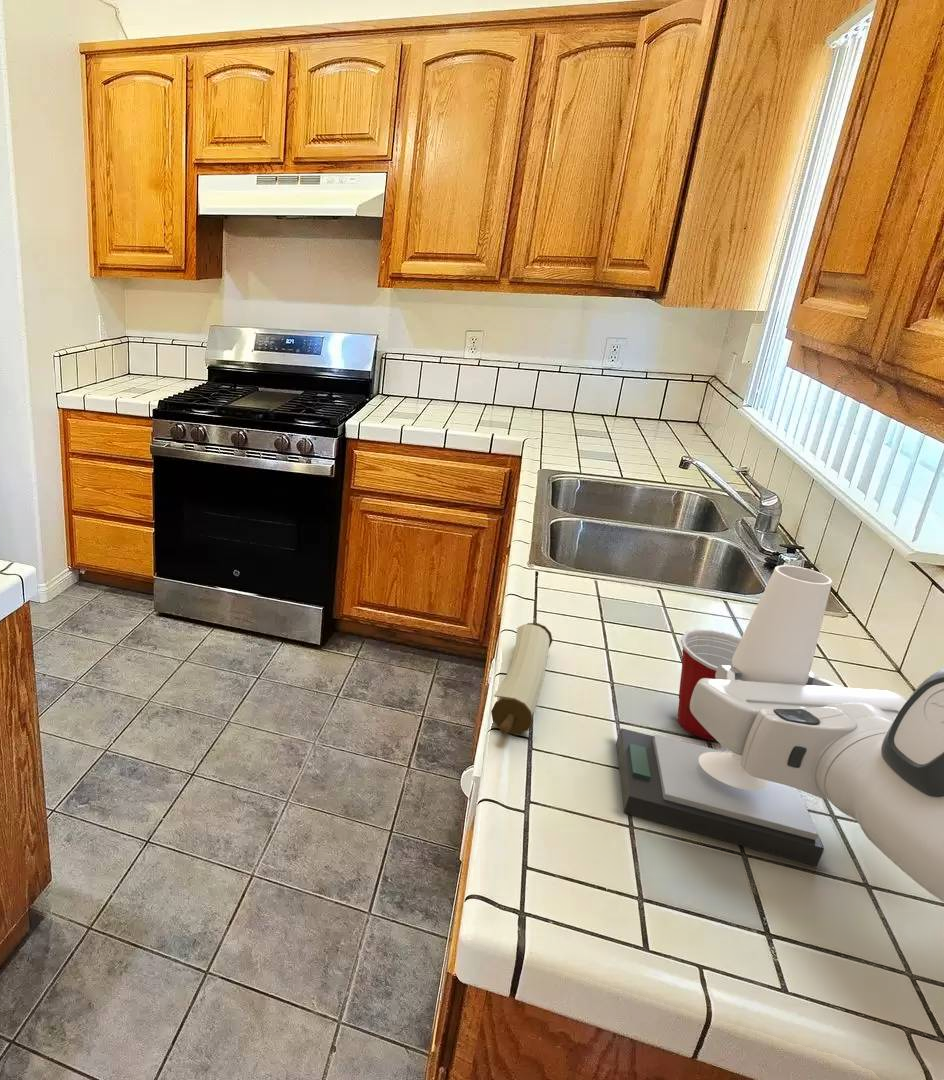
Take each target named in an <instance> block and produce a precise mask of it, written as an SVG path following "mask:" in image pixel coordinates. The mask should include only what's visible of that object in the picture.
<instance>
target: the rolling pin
mask: <svg viewBox="0 0 944 1080" xmlns="http://www.w3.org/2000/svg"><path fill="white" fill-rule="evenodd" d="M552 643H553V636H552V632H551V631H550V630H549V629H548V627H546V626H545V625H543V624H541V623H538V622H528V623H526V624H522V625H519V626H517V628H516V636H515V645H514V651H513V655H512V659H511V663H510V666H509V668H508V671H507V673H506V676H505V678H504V680H503V682H502V683H501V684H500V685H499V687H498V689H497V690H496V692H495V693H494V694H493V697H494V698H498V700H497V701H495V703H494V705H493V706H492V709H491V711H490V712H491V718H492V721H493V723H494V724H495V725H496V727H497V728H498V729H499V732H500V733H501V734H503V735H506V734H509V735H511V734H512V735H521V734H523V733H525V732H528V731H529V729H530V727H531V725H532V723H533V722H534V719H533V716H534V712H535V709H536V706H537V703H538V700H539V697H540V693H541V688H542V685H543V681H544V677H545V672H546V668H547V667H546V666H547V661H548V656H549V650H550V647H551V646H552Z"/></svg>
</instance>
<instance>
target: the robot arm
mask: <svg viewBox="0 0 944 1080" xmlns="http://www.w3.org/2000/svg"><path fill="white" fill-rule="evenodd" d="M741 675H742V673H741V672H740V671H739V670H737V669H736V667H734V666H725V665H719V666H718V668H717V671H716V674H715V678H716V679H710V678H702V679H700V680H699V681H698V683H697V684H696V686H695V688H694V691H693V694H692V697H691V701H690V711H691V713H692V714H693V716H694V717H695V718H696V719H697V720H698V722H699V723H700V724H701V725H702V726H703V727H704V728H705V729H706V730H707V731H708V732H709V733H710V734H711V735H712V736H713V737H714V738H715V739H716V740H715V741H717V742H718V744H720V745H721V746H722V747H724V748H725V749H727V750H728V751H730V752H731V753H732V752H733V753H736V754H738V755H741V756H742V759H741V766H742V768H743V769H744V770H745V771H746V772H747V773H748V774H750V775H751V776H754V777H756V778H760V779H764V780H768V781H772V782H776V783H780V784H783V785H787V786H790V787H793V788H796V789H798V790H799V791H802V792H805V793H807V794H810V795H812V796H814V797H817V798H819V799H824V800H826V799H827V800H828V801H829V802H830V803H831V804H832V805H833V806H834V807H835V808H836V809H837V810H838V811H840V812H841V813H843V814H845V815H846V816H848V817H850V818H852V819H854V820H855V821H856V822H857V824H858V825H859V826H860V828H861V830H862V832H863V834H864V835H865V836H866V838H867V839H868V840H869V841H870V842H871V844H873V846H875V847H876V848H877V849H878V850H879V851H880V852H881V853H882V854H883V855H884V856H886V857H887V858H888V859H889V860H890V862H892V863H893V864H894V865H895V866H896V867H898V868H899V869H900V870H901V871H902V872H903V873H904V874H905V875H907V876H908V877H909V878H910V879H912V880H913V881H914V882H915V883H916V884H918V885H919V886H920V887H921V888H923V889H924V890H925V891H927V892H928V893H929V894H931V895H932V896H933V897H935V898H937V899H938V900H940V901H941V902H943V903H944V667H943V668H941V669H939V670H937V671H936V672H934V673H933V674H931V675H930V676H929V677H927V678H926V679H925V680H923V682H921V683H920V684H919V685H918V686H917V687H916V688H915V690H914V691H913V692H912V694H910V696H909V697H908V698H906V697H904V696H903V695H900V694H898V693H896V692H892V691H889V690H884V689H883V690H881V689H869V688H868V689H867V688H853V687H844V686H842V685H840V684H836V683H834V682H832V681H829V680H826V679H823V678H820V677H819V676H818V675H816V674H815V673H814V672H812V671H811V670H810V674H809V678H808V682H807V683H806V685H796V684H782V683H767V682H752V681H742V680H739V679H740V678H741Z"/></svg>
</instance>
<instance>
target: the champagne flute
mask: <svg viewBox="0 0 944 1080" xmlns="http://www.w3.org/2000/svg"><path fill="white" fill-rule="evenodd" d="M832 584H833V580H832V579H831V577H829V576H828V575H826V574H823V573H822V572H819V571H816V570H814V569H810V568H807V567H801V566H797V565H790V564H789V565H788V564H786V565H785V564H781V565H777V566H775V567H774V569H773V571H772V573H771V575H770V578H769V579H768V582H767V583H766V587H765V588H764V590H763V592H762V594H761V596H760V599H759V601H758V603H757V605H756V607H755V609H754V611H753V613H752V616H751V617H750V620H749V622H748V623H747V626H746V628H745V630H744V633H743V634H742V637H740V638H741V641H740V643H739V645H738V647H737V649H736V651H735V653H734V655H733V658H732V665H733V666H734V667H736V669H737V670H739V671H740V672H741V673H742V675H741V678H740V679H739V680H742V681H752V682H767V683H782V684H796V685H806V683H807V682H808V678H809V674H810V671H811V670H812V665H813V661H814V657H815V655H816V649H817V645H818V641H819V637H820V632H821V629H822V625H823V620H824V616H825V612H826V609H827V604H828V600H829V596H830V592H831V588H832ZM741 759H742V756H741V755H738V754H736V753H733V752H732V751H731V752H728V753H723V752H707V753H703V754H701V755H700V756H699V764H700V766H701V767H702V768H703V769H704V770H705V771H706V772H707V773H708V774H709V775H711V776H712V777H714V778H715V779H717V780H719V781H721V782H723V783H725V784H727V785H730V786H733V787H736V788H739V789H744V790H762V789H764V788H766V787H767V785H768V780H764V779H760V778H756V777H754V776H751V775H750V774H748V773H747V772H746V771H745V770H744V769H743V768H742V766H741Z"/></svg>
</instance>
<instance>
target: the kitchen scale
mask: <svg viewBox="0 0 944 1080" xmlns="http://www.w3.org/2000/svg"><path fill="white" fill-rule="evenodd" d="M707 752H723V753H729V752H727V751H724V750H720V749H716V748H711V747H707V746H704V745H699V744H695V743H691V742H687V741H682V740H678V739H675V738H671V737H667V736H662V735H657V734H653V735H650V734H647V733H642V732H638V731H634V730H631V729H627V728H622V727H621V728H620V729H619V733H618V736H617V740H616V753H617V762H618V771H619V780H620V788H621V789H620V790H621V799H622V807H623V813H624V814H627V815H631V816H635V817H637V818H641V819H645V820H649V821H652V822H656V823H659V824H663V825H666V826H670V827H673V828H677V829H681V830H684V831H688V832H691V833H695V834H699V835H702V836H706V837H709V838H713V839H717V840H719V841H723V842H727V843H730V844H733V845H734V844H735V845H738V846H742V847H745V848H749V849H752V850H756V851H759V852H763V853H766V854H770V855H774V856H776V857H777V856H778V857H781V858H784V859H788V860H792V861H795V862H799V863H803V864H806V865H810V866H812V867H818V865H819V862H820V860H821V858H822V856H823V853H824V850H825V847H824V845H823V842H822V840H821V838H820V836H819V833H818V830H817V828H816V826H815V824H814V821H813V819H812V817H811V815H810V812H809V810H808V808H807V806H806V803H805V801H804V799H803V797H802V794H801V792H800V790H799V789H796V788H793V787H790V786H787V785H783V784H780V783H776V782H772V781H768V785H767V787H766V788H764V789H762V790H744V789H739V788H736V787H733V786H730V785H727V784H725V783H723V782H721V781H719V780H717V779H715V778H714V777H712V776H711V775H709V774H708V773H707V772H706V771H705V770H704V769H703V768H702V767H701V766H700V764H699V756H700V755H701V754H703V753H707Z"/></svg>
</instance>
